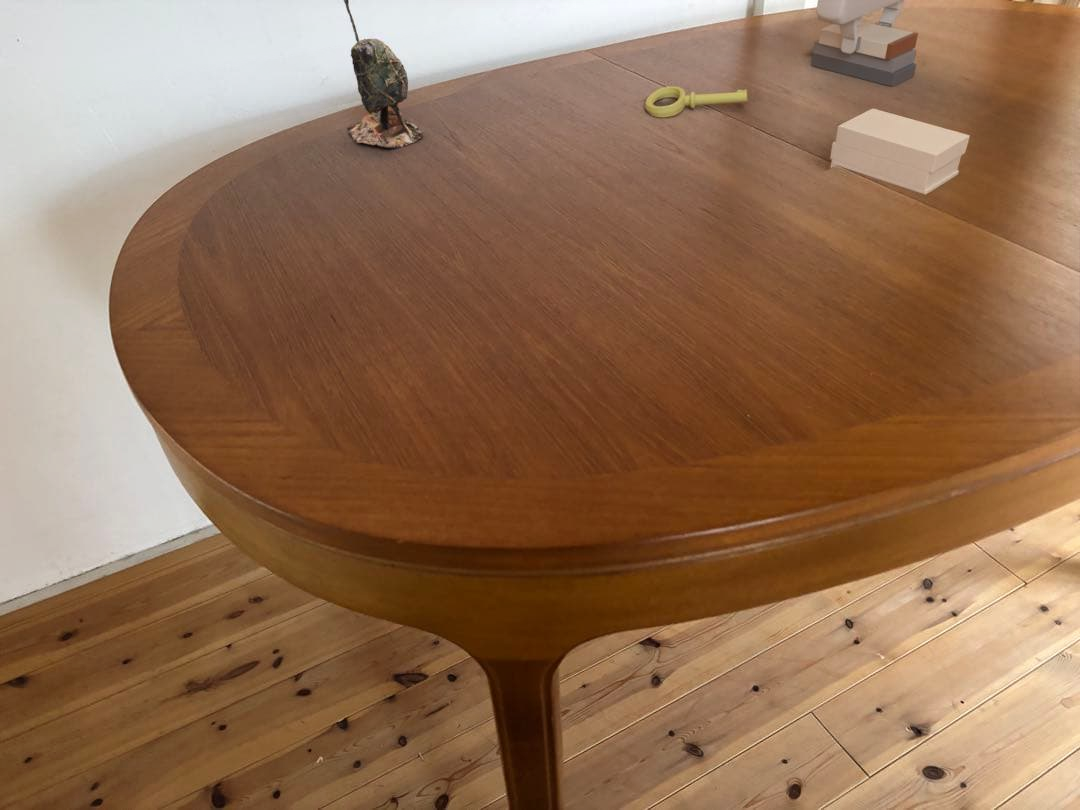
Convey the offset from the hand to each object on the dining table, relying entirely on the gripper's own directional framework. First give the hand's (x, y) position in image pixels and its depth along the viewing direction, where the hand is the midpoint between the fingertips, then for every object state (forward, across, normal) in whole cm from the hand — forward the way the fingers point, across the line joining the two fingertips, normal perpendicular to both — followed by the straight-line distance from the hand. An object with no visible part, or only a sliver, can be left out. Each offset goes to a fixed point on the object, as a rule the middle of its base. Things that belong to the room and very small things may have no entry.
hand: (866, 44), depth 113 cm
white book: (0, 0, 0) cm, 0 cm away
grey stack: (+3, 0, 0) cm, 3 cm away
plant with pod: (+4, -55, +28) cm, 62 cm away
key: (+4, -24, +8) cm, 26 cm away
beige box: (+3, -26, -20) cm, 33 cm away
